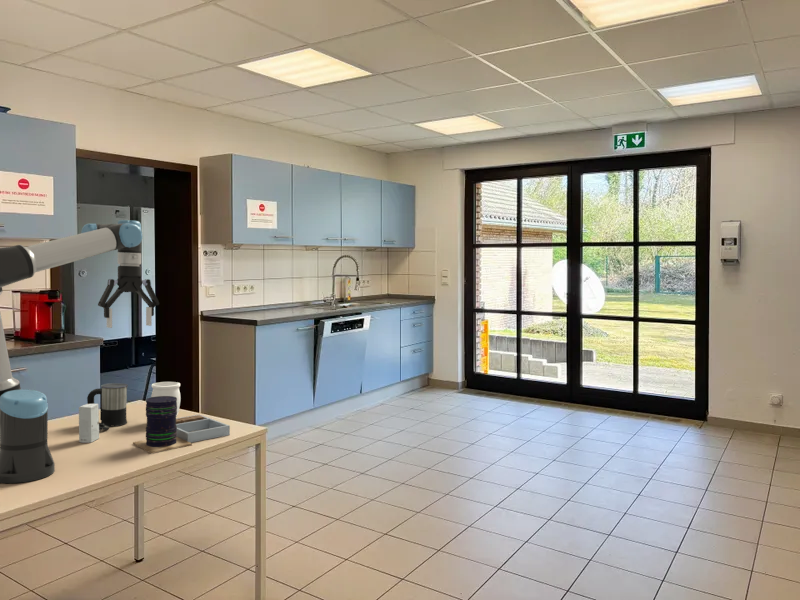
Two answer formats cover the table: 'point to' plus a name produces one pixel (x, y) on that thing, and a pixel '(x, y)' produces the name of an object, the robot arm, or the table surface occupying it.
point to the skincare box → (88, 423)
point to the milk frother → (111, 404)
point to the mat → (178, 444)
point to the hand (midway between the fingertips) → (129, 326)
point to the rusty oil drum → (161, 421)
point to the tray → (215, 429)
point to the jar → (167, 391)
